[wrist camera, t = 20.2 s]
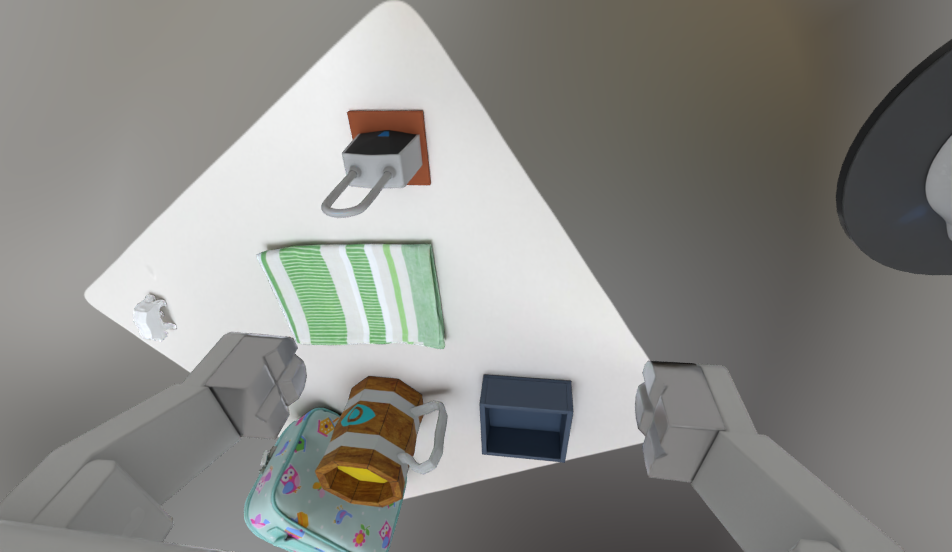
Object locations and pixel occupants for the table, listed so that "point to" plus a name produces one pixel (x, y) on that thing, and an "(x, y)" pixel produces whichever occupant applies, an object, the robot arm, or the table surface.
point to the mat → (394, 122)
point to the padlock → (376, 167)
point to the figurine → (151, 319)
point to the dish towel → (357, 293)
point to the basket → (525, 417)
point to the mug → (378, 443)
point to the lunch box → (312, 497)
